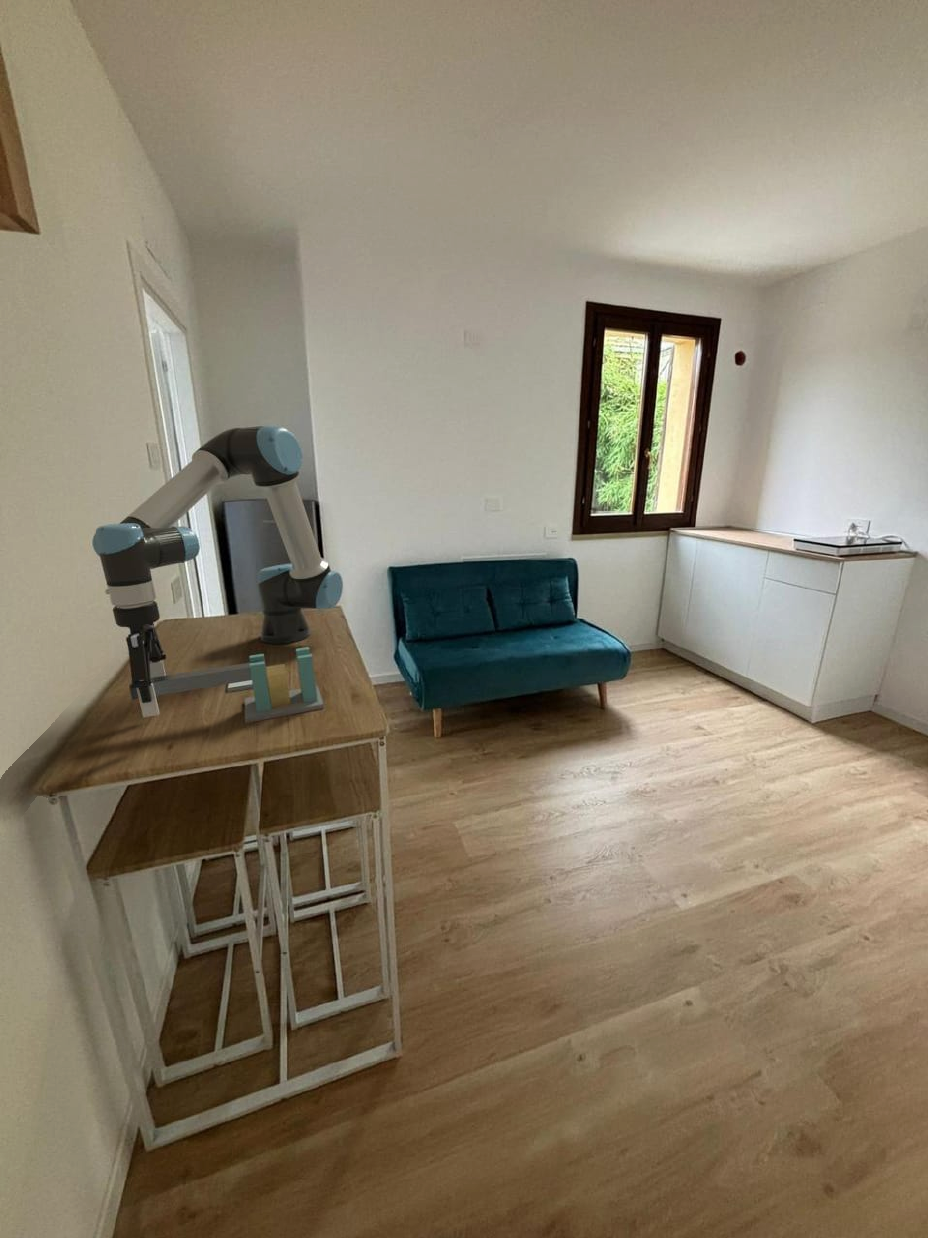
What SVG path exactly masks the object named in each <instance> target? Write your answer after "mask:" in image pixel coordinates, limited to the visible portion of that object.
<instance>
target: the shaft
mask: <svg viewBox="0 0 928 1238" xmlns="http://www.w3.org/2000/svg"><path fill="white" fill-rule="evenodd" d="M258 662H263V661H258ZM251 663H256V662H251ZM249 680H252V677H251V671H250V662H247V663H240V664H233V665H227V666H226V665H225V666H219V667H213V668H206V669H201V670H200V669H199V670H194V671H187V672H182V673H175V674H174V673H173V674H166V676H160V677H153V678H151V683H153V686H154V691H155V695H156V697H157V696H162V695H163V696H164V695H169V694H177V693H182V692H186V691H194V690H200V689H207V688H213V687H218V686H225V685H228V684H231V683H237V682H243V681H249ZM139 681H144V680H139ZM130 685H132V680H131V682H130V683H129V685H128V687H129V689H128V690H129V692H130V696H131V701H133V700H134V701H135V700H139V697H138V693H137V688H133V689H131V686H130Z"/></svg>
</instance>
